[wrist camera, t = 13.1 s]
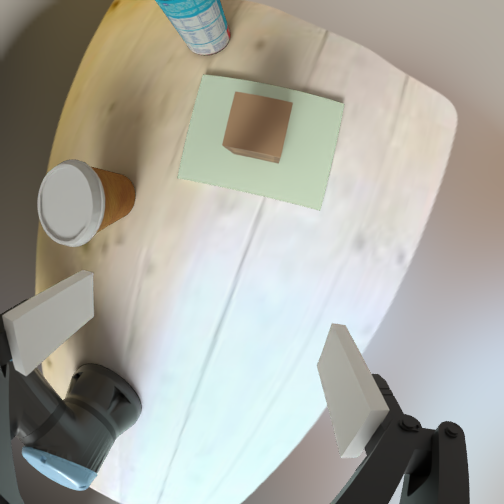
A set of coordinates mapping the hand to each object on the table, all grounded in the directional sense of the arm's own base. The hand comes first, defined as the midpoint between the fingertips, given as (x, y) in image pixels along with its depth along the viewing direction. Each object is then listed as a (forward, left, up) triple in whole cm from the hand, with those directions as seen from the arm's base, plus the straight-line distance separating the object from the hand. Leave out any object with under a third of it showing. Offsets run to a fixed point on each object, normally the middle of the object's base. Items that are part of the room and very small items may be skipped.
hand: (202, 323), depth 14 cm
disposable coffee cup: (-19, +2, -23) cm, 30 cm away
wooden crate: (-1, +13, -22) cm, 25 cm away
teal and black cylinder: (-11, +26, -23) cm, 36 cm away
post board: (-1, +13, -23) cm, 26 cm away
